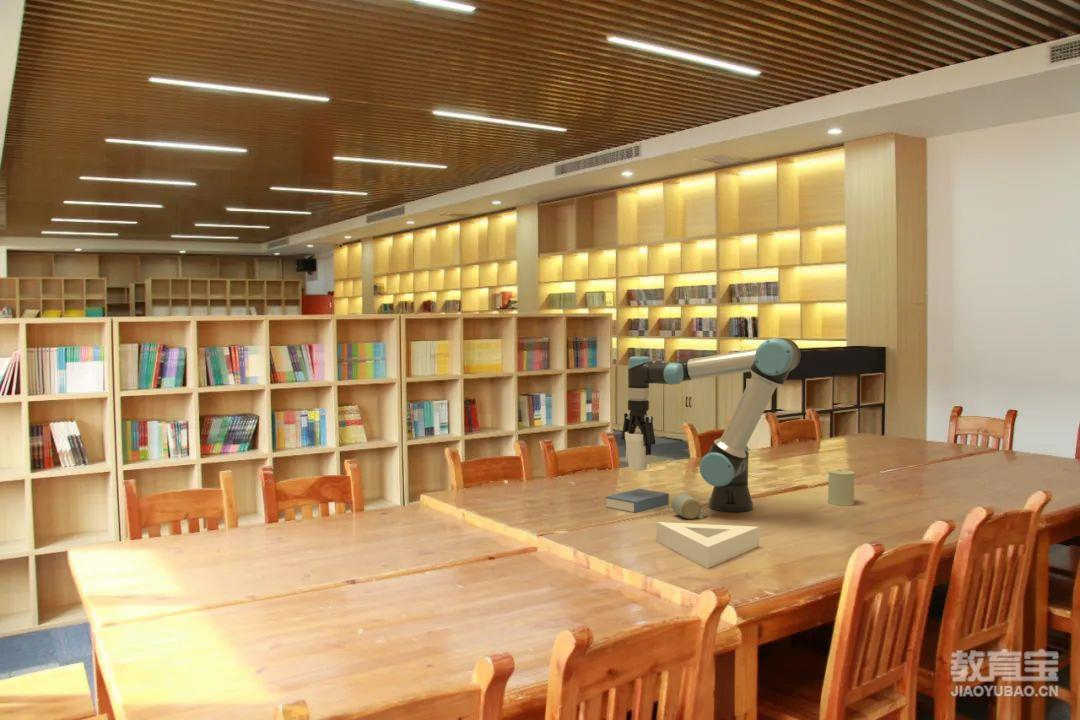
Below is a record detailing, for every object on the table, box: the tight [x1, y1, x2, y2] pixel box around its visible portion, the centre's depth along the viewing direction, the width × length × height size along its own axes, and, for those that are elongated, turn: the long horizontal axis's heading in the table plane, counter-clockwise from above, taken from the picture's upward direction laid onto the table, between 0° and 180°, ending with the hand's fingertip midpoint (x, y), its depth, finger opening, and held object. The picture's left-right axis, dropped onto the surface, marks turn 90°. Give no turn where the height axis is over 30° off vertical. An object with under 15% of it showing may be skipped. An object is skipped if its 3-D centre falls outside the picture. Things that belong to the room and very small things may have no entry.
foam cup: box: [625, 430, 648, 471], centre depth 300 cm, size 10×9×13 cm
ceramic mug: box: [671, 492, 707, 520], centre depth 284 cm, size 11×8×8 cm
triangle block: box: [655, 521, 760, 569], centre depth 243 cm, size 30×26×6 cm
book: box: [605, 488, 670, 514], centre depth 301 cm, size 13×20×4 cm, turn 137°
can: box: [827, 469, 856, 507], centre depth 307 cm, size 9×9×12 cm
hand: (637, 461), depth 300 cm, fingers closed on foam cup, 9 cm apart
